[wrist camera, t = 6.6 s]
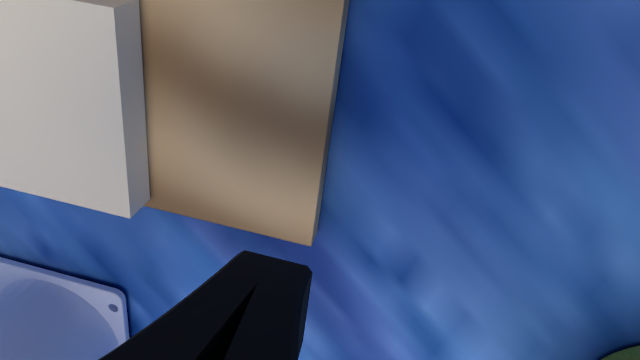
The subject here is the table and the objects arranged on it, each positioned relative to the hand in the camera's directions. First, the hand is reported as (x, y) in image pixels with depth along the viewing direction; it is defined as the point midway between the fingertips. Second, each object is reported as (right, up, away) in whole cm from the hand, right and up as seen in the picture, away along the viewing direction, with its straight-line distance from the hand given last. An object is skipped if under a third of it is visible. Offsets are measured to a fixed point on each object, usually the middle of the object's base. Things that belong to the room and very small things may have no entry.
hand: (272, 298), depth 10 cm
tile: (-6, +5, +9) cm, 12 cm away
